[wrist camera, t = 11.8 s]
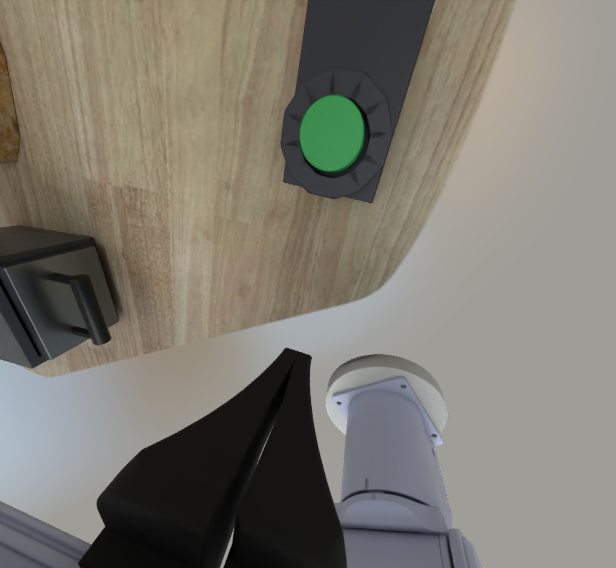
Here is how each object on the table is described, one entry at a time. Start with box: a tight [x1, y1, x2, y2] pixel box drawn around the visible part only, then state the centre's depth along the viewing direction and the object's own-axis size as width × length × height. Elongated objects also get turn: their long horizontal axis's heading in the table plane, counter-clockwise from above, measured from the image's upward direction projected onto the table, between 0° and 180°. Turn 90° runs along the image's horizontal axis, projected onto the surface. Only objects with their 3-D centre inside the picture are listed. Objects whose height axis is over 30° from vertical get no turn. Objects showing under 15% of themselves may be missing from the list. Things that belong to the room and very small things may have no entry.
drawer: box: [0, 245, 119, 360], centre depth 23 cm, size 13×9×7 cm
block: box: [281, 0, 435, 203], centre depth 14 cm, size 10×6×4 cm, turn 168°
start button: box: [300, 95, 364, 172], centre depth 13 cm, size 3×3×2 cm
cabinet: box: [0, 225, 119, 368], centre depth 24 cm, size 11×11×9 cm
